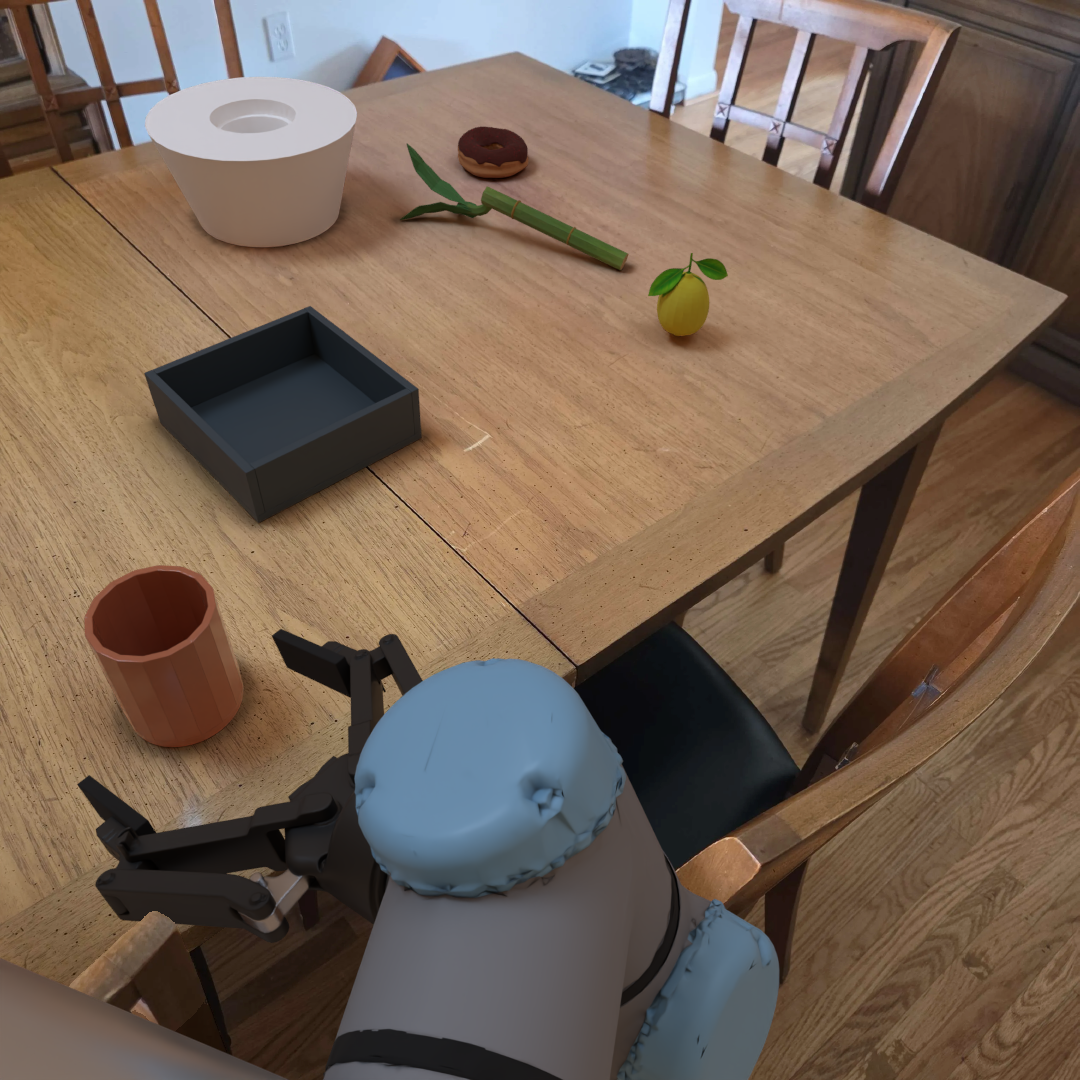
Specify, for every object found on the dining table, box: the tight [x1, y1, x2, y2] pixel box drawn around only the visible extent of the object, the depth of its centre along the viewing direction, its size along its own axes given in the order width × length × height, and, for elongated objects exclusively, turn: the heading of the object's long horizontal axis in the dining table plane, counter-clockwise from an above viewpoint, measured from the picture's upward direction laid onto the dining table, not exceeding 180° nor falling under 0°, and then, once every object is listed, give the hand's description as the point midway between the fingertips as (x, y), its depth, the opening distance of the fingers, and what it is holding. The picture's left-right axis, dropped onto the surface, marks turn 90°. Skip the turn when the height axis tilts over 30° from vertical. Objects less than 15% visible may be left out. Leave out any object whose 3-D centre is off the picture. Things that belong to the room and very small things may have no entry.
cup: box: [83, 564, 245, 748], centre depth 63 cm, size 8×8×10 cm
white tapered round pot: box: [144, 76, 358, 248], centre depth 113 cm, size 24×24×12 cm
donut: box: [457, 125, 530, 179], centre depth 127 cm, size 10×10×4 cm
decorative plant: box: [399, 143, 629, 271], centre depth 113 cm, size 6×8×30 cm
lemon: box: [647, 252, 729, 337], centre depth 98 cm, size 7×6×10 cm
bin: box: [143, 305, 423, 524], centre depth 86 cm, size 18×18×6 cm
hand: (195, 716), depth 56 cm, fingers open, 13 cm apart
